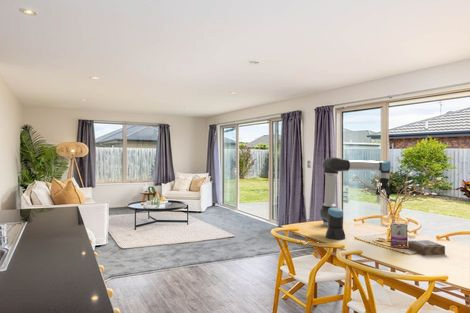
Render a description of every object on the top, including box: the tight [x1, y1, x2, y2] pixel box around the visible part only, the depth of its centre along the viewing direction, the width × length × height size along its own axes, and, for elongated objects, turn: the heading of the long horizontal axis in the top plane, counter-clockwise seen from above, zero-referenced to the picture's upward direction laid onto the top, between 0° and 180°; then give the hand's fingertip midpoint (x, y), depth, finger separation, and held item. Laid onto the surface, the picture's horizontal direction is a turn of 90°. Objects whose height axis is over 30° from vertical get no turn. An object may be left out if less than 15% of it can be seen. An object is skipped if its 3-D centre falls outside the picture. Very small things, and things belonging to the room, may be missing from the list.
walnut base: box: [407, 239, 446, 256], centre depth 241 cm, size 16×16×6 cm
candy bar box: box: [390, 222, 409, 247], centre depth 257 cm, size 11×5×16 cm, turn 62°
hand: (382, 202), depth 297 cm, fingers open, 13 cm apart
